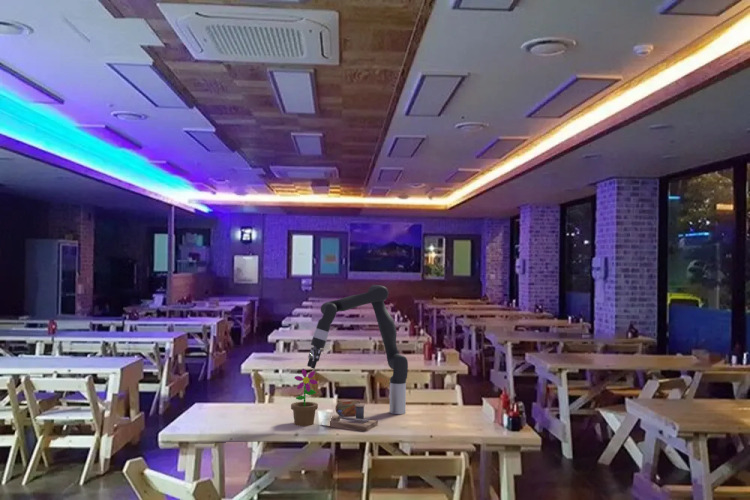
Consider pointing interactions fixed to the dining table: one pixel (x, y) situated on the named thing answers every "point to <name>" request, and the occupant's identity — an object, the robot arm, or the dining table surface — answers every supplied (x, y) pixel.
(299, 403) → the flowerpot
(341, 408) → the tin
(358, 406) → the spool
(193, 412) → the dining table surface
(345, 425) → the framed panel with rod
